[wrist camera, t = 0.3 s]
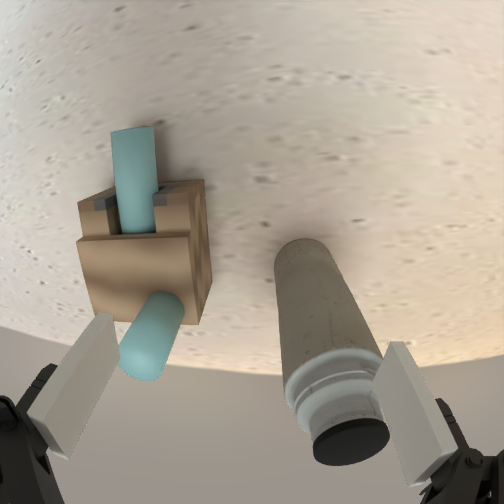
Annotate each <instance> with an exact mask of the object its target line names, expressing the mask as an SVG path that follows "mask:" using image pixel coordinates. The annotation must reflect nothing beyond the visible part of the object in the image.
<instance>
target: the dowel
mask: <svg viewBox="0 0 504 504" xmlns="http://www.w3.org/2000/svg"><path fill="white" fill-rule="evenodd" d="M184 314H185V309H184V306H183V304H182V302H181V301H180V299H179V298H178V297H176V296H175V295H174V294H172V293H169V292H166V291H157V292H154V293H152V294H151V295H150V296H149V297H148V299H147V300H146V302H145V303H144V305H143V307H142V308H141V310H140V311H139V313H138V315H137V316H136V318H135V319H134V321H133V323H132V324H131V326H130V327H129V329H128V331H127V332H126V334H125V336H124V337H123V339H122V341H121V342H120V344H119V346H118V348H119V353H120V360H119V362H118V365H119V367H120V368H121V369H122V370H123V371H124V372H125V373H126V374H127V375H129V376H131V377H132V378H135V379H137V380H141V381H153V380H156V379H158V378H159V377H160V376H161V374H162V372H163V369H164V367H165V364H166V361H167V359H168V356H169V353H170V351H171V348H172V346H173V343H174V340H175V338H176V335H177V333H178V330H179V328H180V325H181V322H182V320H183V317H184Z"/></svg>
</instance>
